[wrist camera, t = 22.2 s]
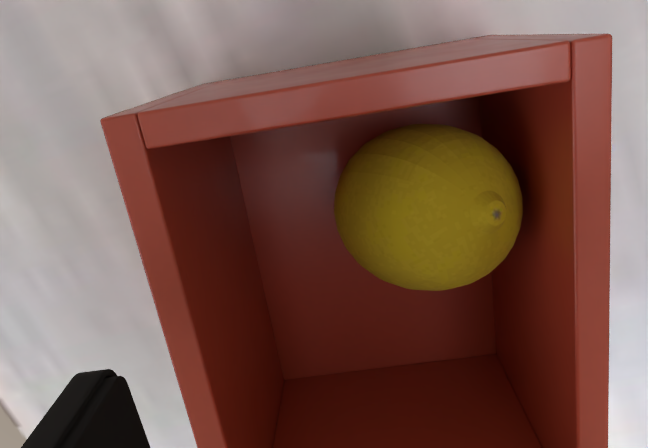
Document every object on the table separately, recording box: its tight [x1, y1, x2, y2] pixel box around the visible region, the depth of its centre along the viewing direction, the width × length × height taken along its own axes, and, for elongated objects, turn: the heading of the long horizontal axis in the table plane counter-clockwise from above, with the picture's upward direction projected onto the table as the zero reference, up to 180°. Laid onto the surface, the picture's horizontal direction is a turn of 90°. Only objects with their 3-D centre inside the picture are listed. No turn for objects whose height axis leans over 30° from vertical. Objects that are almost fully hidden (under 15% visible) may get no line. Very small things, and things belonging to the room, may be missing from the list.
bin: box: [101, 34, 612, 448], centre depth 19 cm, size 15×12×10 cm
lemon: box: [334, 124, 523, 291], centre depth 18 cm, size 6×6×8 cm
